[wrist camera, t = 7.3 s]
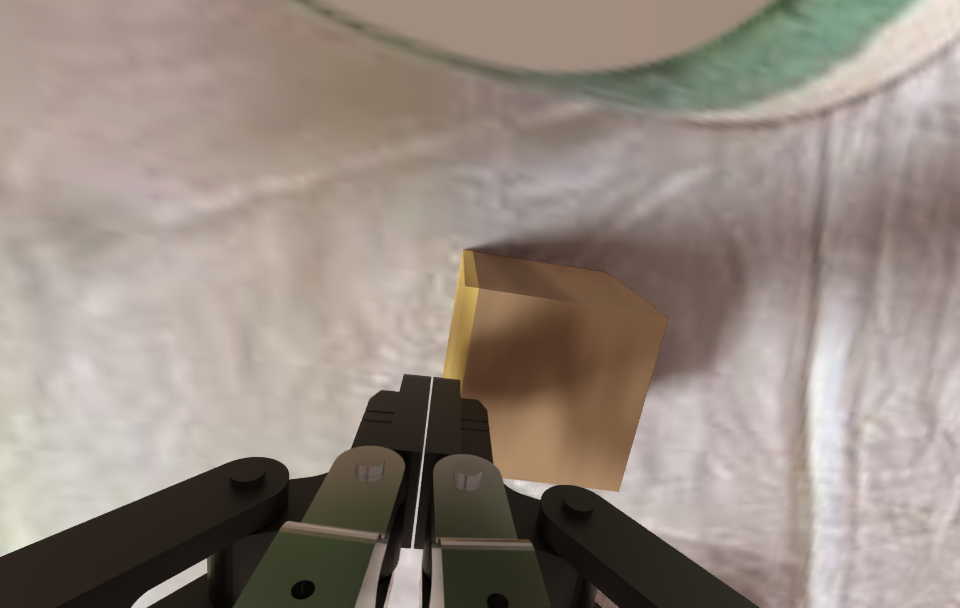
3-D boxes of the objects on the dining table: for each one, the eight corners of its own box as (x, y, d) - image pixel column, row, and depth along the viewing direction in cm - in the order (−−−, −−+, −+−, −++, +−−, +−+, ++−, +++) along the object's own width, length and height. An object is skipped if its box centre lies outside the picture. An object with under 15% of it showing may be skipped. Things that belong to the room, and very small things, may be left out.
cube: (465, 286, 14) (668, 317, 14) (462, 249, 19) (607, 272, 20) (434, 469, 15) (618, 491, 16) (441, 385, 21) (575, 403, 21)
